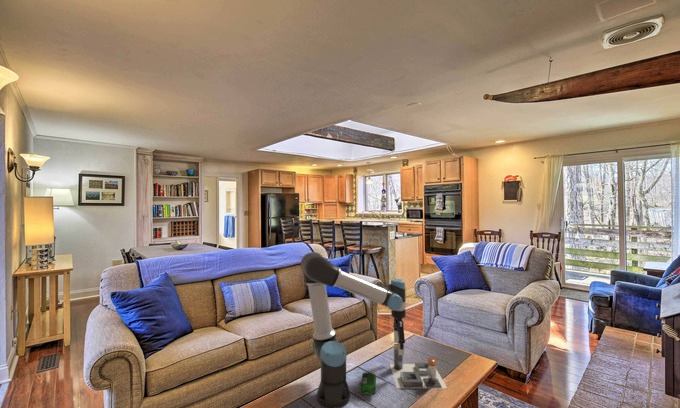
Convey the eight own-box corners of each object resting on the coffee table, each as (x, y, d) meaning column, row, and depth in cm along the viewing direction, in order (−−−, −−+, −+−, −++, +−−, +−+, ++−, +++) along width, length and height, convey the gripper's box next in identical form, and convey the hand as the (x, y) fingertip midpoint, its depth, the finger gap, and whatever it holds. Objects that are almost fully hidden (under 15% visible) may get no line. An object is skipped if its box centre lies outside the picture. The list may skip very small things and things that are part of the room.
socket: (418, 375, 160) (418, 371, 160) (414, 366, 168) (414, 363, 168) (434, 375, 160) (434, 371, 160) (429, 366, 168) (429, 363, 168)
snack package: (359, 399, 142) (359, 387, 142) (362, 379, 158) (362, 369, 158) (375, 400, 141) (375, 389, 141) (376, 380, 157) (376, 370, 156)
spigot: (394, 370, 164) (394, 347, 164) (393, 365, 169) (393, 343, 169) (403, 370, 164) (403, 347, 164) (401, 365, 169) (401, 343, 169)
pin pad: (426, 387, 149) (426, 386, 149) (423, 379, 156) (423, 378, 156) (441, 387, 149) (441, 386, 149) (437, 379, 156) (437, 378, 156)
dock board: (396, 389, 149) (396, 388, 149) (389, 365, 171) (389, 363, 171) (447, 389, 149) (447, 388, 149) (433, 365, 171) (433, 364, 171)
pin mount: (403, 387, 149) (403, 382, 149) (400, 376, 158) (400, 371, 158) (422, 387, 149) (422, 382, 149) (418, 376, 158) (418, 371, 158)
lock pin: (427, 380, 154) (427, 358, 154) (434, 380, 154) (434, 357, 154) (429, 384, 151) (429, 361, 151) (437, 384, 151) (437, 361, 151)
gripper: (410, 317, 154) (411, 360, 154) (401, 301, 179) (401, 337, 179) (395, 317, 154) (396, 360, 154) (387, 301, 179) (388, 338, 179)
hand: (398, 348), depth 167 cm, fingers open, 13 cm apart
